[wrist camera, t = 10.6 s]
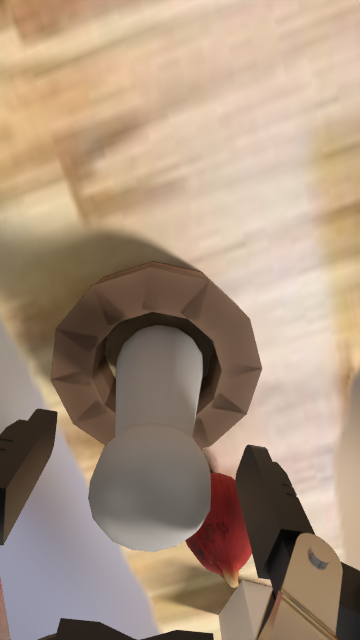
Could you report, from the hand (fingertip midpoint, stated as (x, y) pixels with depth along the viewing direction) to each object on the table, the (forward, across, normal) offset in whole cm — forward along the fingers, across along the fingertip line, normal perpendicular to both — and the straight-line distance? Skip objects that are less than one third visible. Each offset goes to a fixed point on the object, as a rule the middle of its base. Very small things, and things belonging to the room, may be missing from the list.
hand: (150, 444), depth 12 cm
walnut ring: (+10, 0, 0) cm, 10 cm away
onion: (+10, -7, +11) cm, 17 cm away
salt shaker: (+10, 0, 0) cm, 10 cm away
